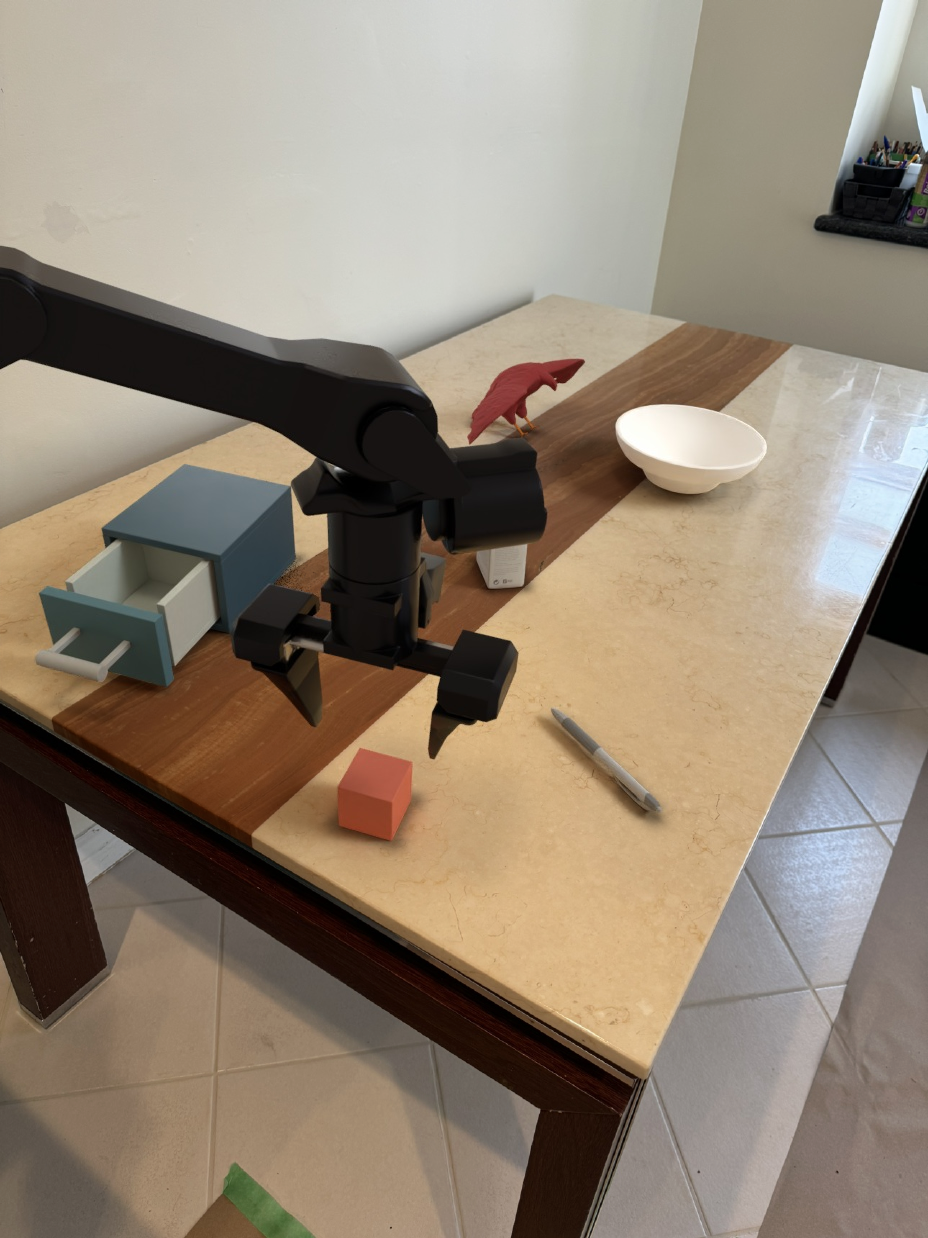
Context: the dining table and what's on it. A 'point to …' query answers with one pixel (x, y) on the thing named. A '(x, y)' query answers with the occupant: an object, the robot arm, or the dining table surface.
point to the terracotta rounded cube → (374, 793)
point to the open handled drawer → (130, 613)
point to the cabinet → (217, 529)
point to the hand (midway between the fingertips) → (374, 738)
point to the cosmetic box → (503, 566)
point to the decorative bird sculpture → (519, 392)
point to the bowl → (688, 446)
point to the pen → (609, 763)
